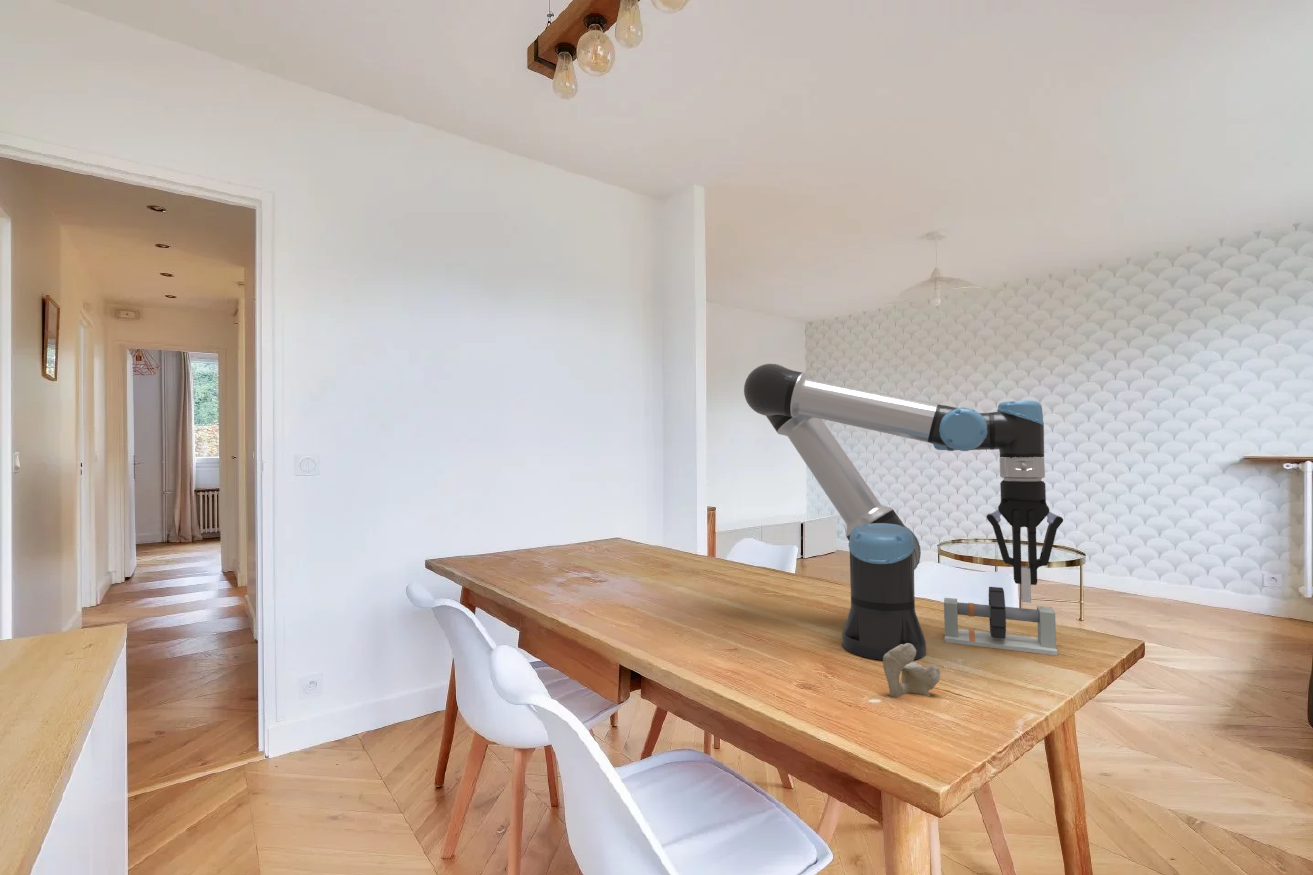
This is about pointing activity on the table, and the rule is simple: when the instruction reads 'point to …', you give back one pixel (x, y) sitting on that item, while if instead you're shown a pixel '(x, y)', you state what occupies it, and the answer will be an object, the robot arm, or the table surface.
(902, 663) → the bone
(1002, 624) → the o-ring
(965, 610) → the pipe rig
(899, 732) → the table surface
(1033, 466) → the robot arm
